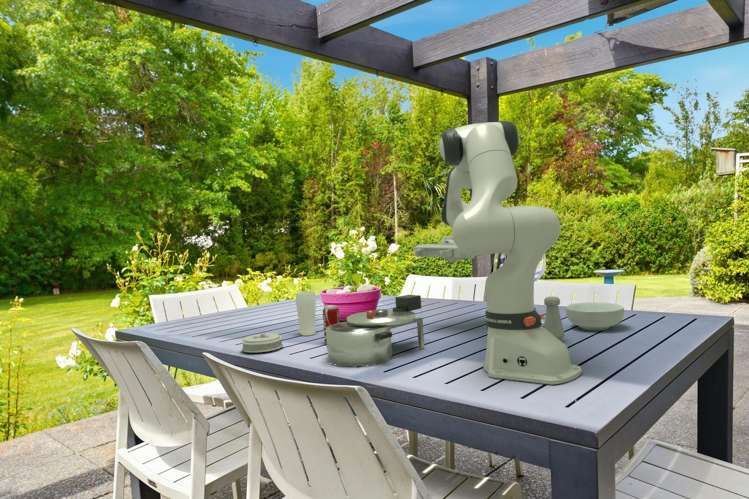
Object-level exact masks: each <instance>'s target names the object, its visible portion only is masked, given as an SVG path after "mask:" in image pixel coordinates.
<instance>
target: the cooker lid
mask: <svg viewBox="0 0 749 499" xmlns="http://www.w3.org/2000/svg"><path fill="white" fill-rule="evenodd" d="M394 299H395V307H393V308H392V309H385V308H380V309H379V308H377V309H374V310H372V309H370V310H365V311H364V312H356V313H353V314H350V315H348V316H347V317H346V322H347V323H348V324H349V325H353V326H362V327H378V326H391V325H398V324H404V323H408V322H411V321H413V320H415V319H416V313H415V312H413V311H417V310H420V309H422V298H421V295H419V294H417V295H416V294H405V295H400V296H396V297H395V298H394Z"/></svg>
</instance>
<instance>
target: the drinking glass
mask: <svg viewBox="0 0 749 499" xmlns="http://www.w3.org/2000/svg"><path fill="white" fill-rule="evenodd" d="M295 304H296V310H297V317H298V324H299V331H300V332H299V333H300V335H301V336H302V337H303V336H304V337H308V336H313V335H315V334H316V307H317V304H316V292H315V291H312V290H311V291H310V290H309V291H308V290H307V291H299V292H296V293H295Z"/></svg>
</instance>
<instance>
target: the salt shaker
mask: <svg viewBox="0 0 749 499" xmlns="http://www.w3.org/2000/svg"><path fill="white" fill-rule="evenodd" d="M543 303H544V306H546V311H545V315H544V316H545V318H544V324H543V327H544V328H545V329H546V330H548V331H549V332H550V333H551V334H552V335H554V336H555V337H556V338H557V339H559V340H560V341H561V342H563V339H564V336H565V330H564V327H563V321H562V317H561V312H560V310H559V305H560V304H561V300H560V298H559V297H557V296H546V297H545V298H544V300H543Z"/></svg>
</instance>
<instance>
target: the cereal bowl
mask: <svg viewBox="0 0 749 499" xmlns="http://www.w3.org/2000/svg"><path fill="white" fill-rule="evenodd" d="M565 313H566V317H567V319H568V320H569V322H570V323H571V324H573V325H575V326H578V327H580V328H582V329H583V330H585V331H594V332H595V331H596V332H597V331H598V332H600V331H606V330H609V328H612V327H615V326H617V325H619V324H620V322H621V321H622V320H623V319H624V318H623V317H624V314H625V307H624V306H623V305H621V304H618V303H612V302H603V301H601V302H600V301H588V302H587V301H586V302H585V301H583V302H576V303H572V304H567V305H566V306H565Z"/></svg>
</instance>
